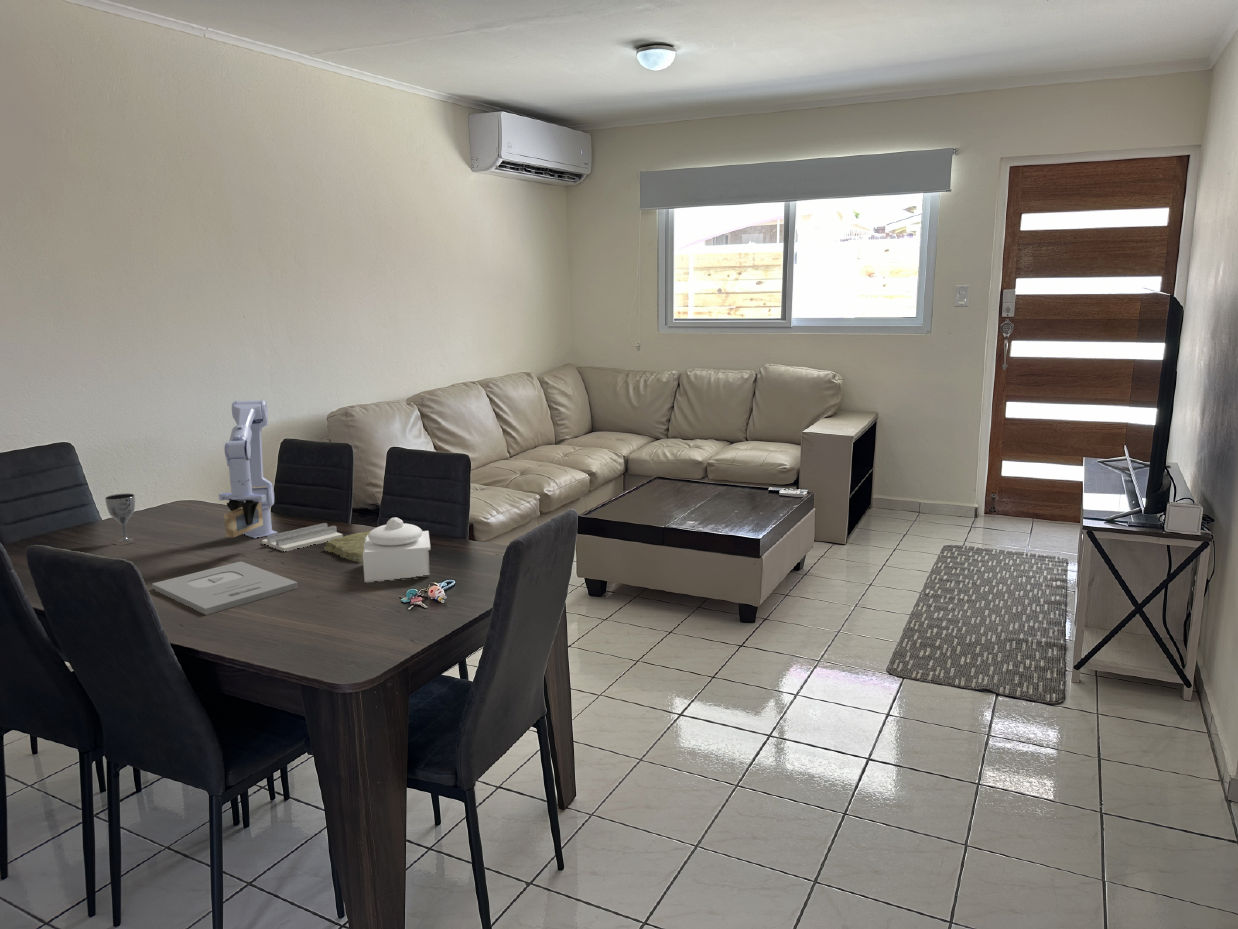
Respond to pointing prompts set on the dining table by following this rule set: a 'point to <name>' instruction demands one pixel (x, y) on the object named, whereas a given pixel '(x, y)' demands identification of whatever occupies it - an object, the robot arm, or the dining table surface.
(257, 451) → the robot arm
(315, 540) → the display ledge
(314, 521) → the dining table surface
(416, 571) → the butter dish
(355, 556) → the mossy green slab
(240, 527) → the tan wooden frame
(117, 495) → the wine glass
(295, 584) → the award plaque
